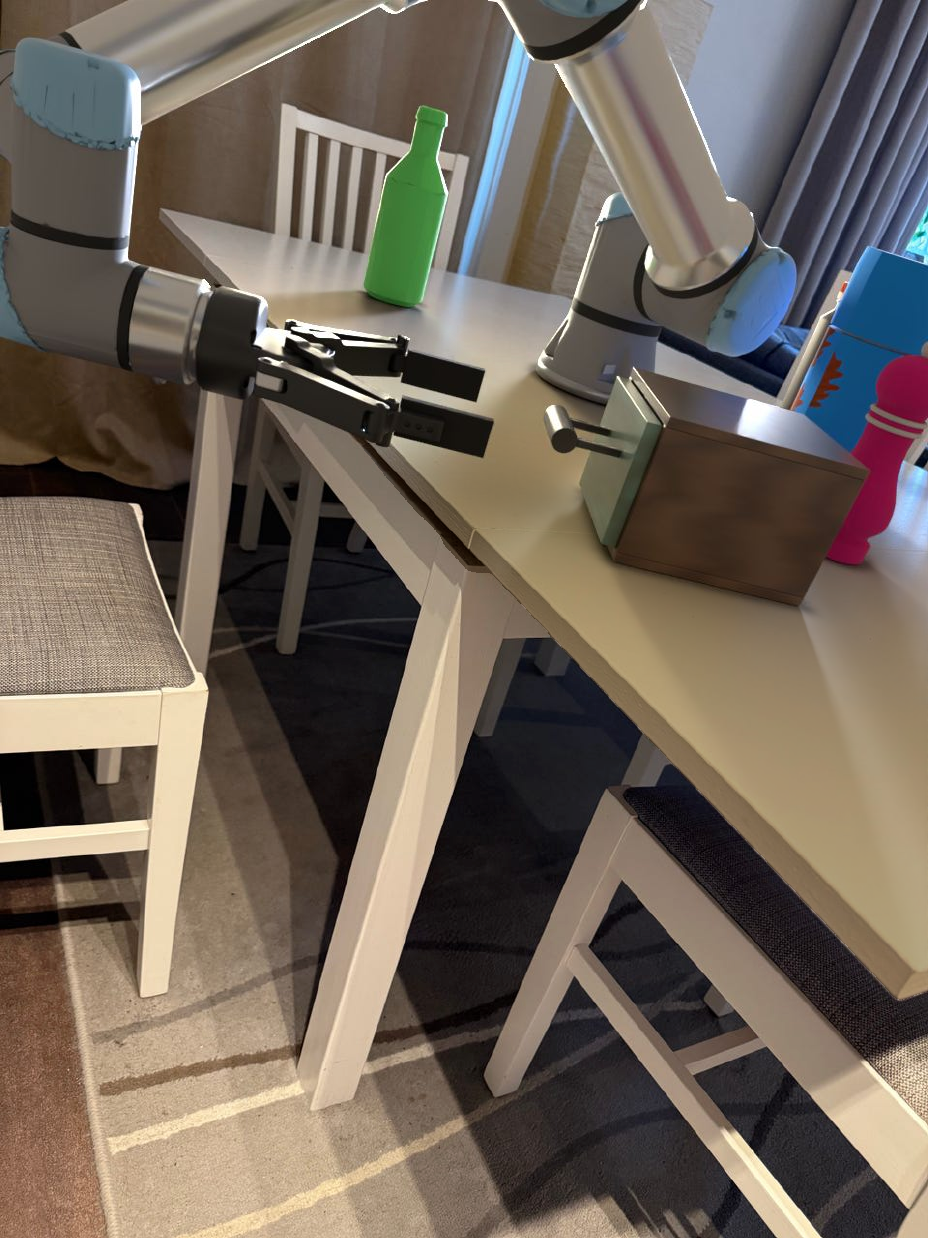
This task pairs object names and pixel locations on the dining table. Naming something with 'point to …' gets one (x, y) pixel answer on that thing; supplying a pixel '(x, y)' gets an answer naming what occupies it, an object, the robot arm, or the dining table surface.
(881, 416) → the pepper mill
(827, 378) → the blue carton
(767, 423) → the drawer box
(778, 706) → the dining table surface
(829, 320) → the vinegar
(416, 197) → the bottle
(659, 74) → the robot arm
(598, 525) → the drawer
